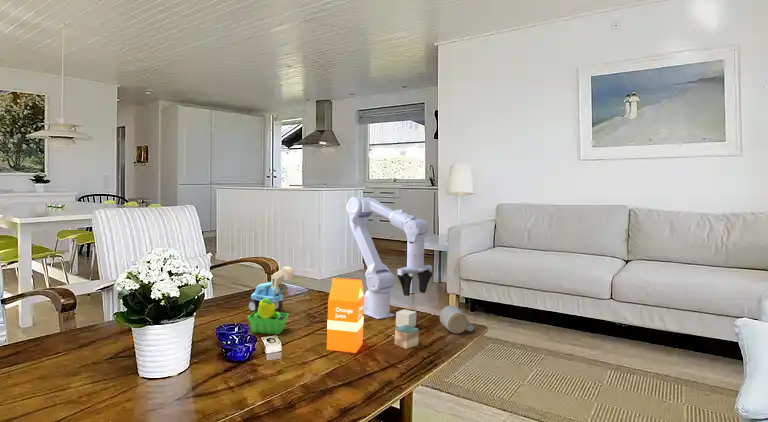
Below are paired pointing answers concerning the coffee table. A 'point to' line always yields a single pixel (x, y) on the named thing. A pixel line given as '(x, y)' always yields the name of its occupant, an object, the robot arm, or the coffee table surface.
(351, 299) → the orange juice
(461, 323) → the ceramic mug
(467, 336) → the coffee table surface
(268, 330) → the fruit basket
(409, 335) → the maple cube
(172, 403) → the coffee table surface
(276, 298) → the toy excavator
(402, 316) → the grey cube
